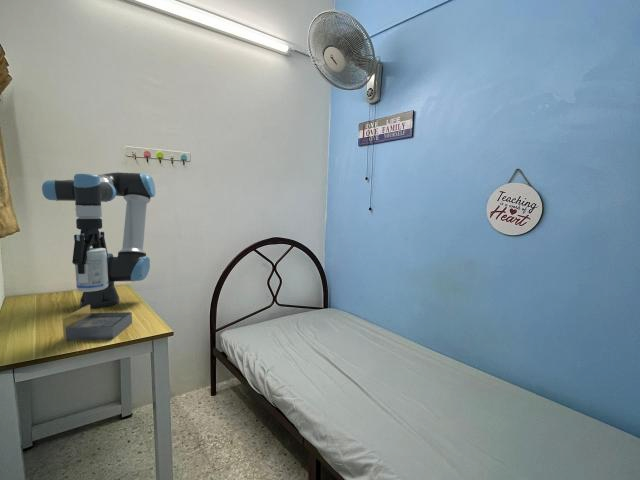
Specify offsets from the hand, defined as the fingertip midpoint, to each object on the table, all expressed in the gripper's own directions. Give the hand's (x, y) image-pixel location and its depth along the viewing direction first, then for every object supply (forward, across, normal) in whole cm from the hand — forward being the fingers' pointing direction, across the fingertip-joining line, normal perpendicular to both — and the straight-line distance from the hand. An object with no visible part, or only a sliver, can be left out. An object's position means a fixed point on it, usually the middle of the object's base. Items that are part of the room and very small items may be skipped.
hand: (92, 279), depth 116 cm
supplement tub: (+4, 0, 0) cm, 4 cm away
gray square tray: (+20, 0, +2) cm, 20 cm away
